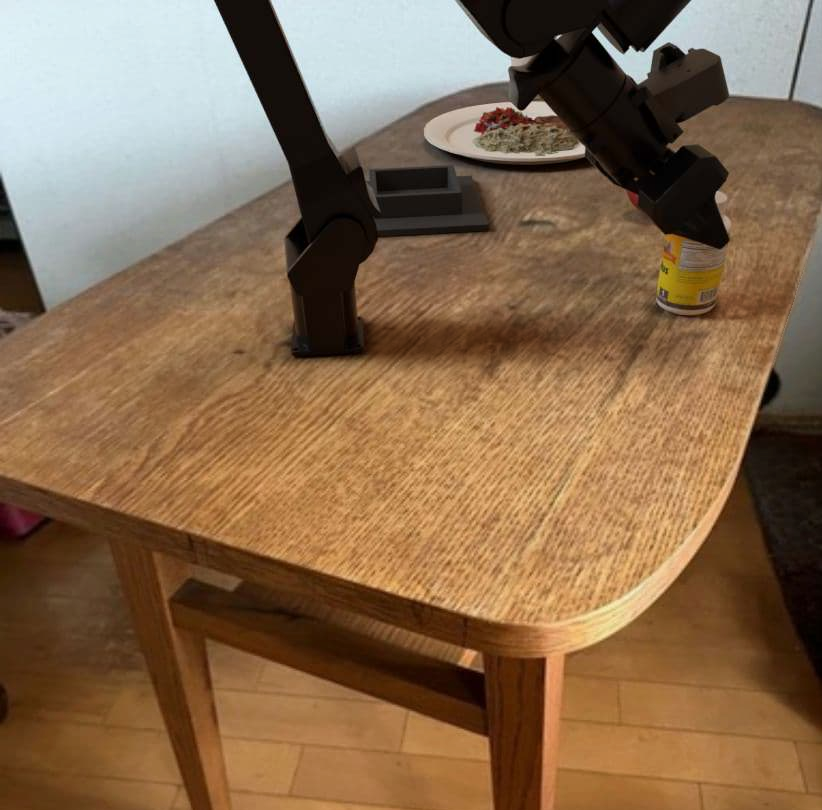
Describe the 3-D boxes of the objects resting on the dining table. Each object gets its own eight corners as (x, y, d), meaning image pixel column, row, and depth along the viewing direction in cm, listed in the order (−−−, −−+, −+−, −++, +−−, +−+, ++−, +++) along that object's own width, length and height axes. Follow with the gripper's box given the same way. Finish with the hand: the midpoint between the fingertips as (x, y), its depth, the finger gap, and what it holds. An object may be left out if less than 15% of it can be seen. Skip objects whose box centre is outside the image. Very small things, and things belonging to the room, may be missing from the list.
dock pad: (488, 231, 98) (489, 201, 96) (349, 238, 98) (347, 209, 96) (471, 181, 112) (471, 154, 110) (349, 187, 112) (347, 161, 109)
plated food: (566, 187, 109) (568, 159, 107) (382, 151, 123) (381, 126, 121) (665, 130, 127) (669, 105, 125) (495, 105, 141) (496, 83, 139)
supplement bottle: (658, 290, 84) (676, 182, 78) (717, 296, 83) (739, 187, 76) (650, 313, 80) (668, 203, 74) (712, 321, 79) (735, 208, 72)
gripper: (727, 36, 59) (834, 188, 67) (633, -4, 73) (731, 125, 81) (603, 166, 63) (718, 294, 71) (538, 104, 77) (640, 217, 85)
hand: (702, 225), depth 77 cm, fingers open, 9 cm apart
